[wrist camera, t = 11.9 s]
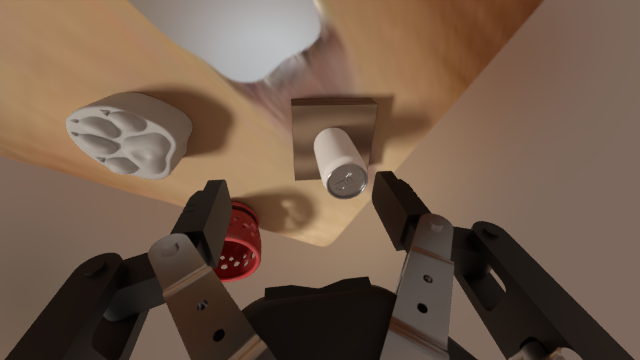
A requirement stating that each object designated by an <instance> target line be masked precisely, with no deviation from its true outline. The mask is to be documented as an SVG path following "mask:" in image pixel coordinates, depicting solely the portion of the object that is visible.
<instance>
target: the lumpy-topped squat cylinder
mask: <svg viewBox="0 0 640 360" xmlns="http://www.w3.org/2000/svg"><path fill="white" fill-rule="evenodd" d="M66 128H67V131H68V133H69V135H70V136H71V138H72V139H73V141H74V142H75V143H76V144H77V145H78V146H79V148H80V149H82V150H83V151H84V152H85V153H86V154H88V155H89V156H90V157H92V158H93V159H95V160H96V161H98V162H99V163H101V164H103V165H104V166H107V167H108V168H109V169H110V170H111V171H113V172H115V173H118V174H124V175H125V174H130V175H134V176H138V177H142V178H147V179H153V180H157V179H162V178H165V177H167V176H168V175H170V173H171V172H172V171H173V170H174V168H175V167H176V166H177V164H178V163H179V162H180V160H181V159H182V158H183V157H184V155H185V154H186V152H187V142H188V139H189V137H190V135H191V133H192V129H193V125H192V122H191V120H190V119H189V118H188V116H187V115H186V114H185V113H183V112H182V111H181V110H179V109H177V108H175V107H173V106H171V105H169V104H167V103H165V102H163V101H161V100H158V99H156V98H153V97H151V96H148V95H145V94H141V93H136V92H127V93H117V94H113V95H111V96H108V97H106V98H103V99H101V100H99V101H96V102H94V103H91V104H89V105H86V106H84V107H82V108H79V109H77V110H76V111H74V112H73V113H71V114H70V115H69V116H68V117H67V119H66Z"/></svg>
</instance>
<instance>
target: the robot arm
mask: <svg viewBox="0 0 640 360" xmlns="http://www.w3.org/2000/svg"><path fill="white" fill-rule="evenodd" d="M372 202H373V205H374V207H375V209H376V211H377V213H378V215H379V217H380V219H381V221H382V223H383V225H384V227H385V229H386V231H387V233H388V235H389V237H390V239H391V241H392V243H393V245H394V247H395V248H396V250H397V251H400V250H405V251H406V253H407V255H406V258H405V261H404V264H403V267H402V271H401V274H400V277H399V281H398V284H397V287H396V290H395V293H393V292H391V291H389V290H387V289H385V288H382V287H380V286H376V285H371V283H370V280H369V277H359V278H350V279H343V280H340V281H338V282H335V283H333V284H330V285H328V286H325V287H323V288H310V287H302V286H295V285H288V286H279V287H270V288H265V297H263V298H260V299H258V300H256V301H254V302H252V303H251V304H249V305H248V306H247V307H245V308H244V309H243V310H242V311H241V310H240V309H239V308H238V306H237V304H236V303H235V302H234V300H233V298H232V297H231V295H230V294H229V292H227V290H226V288H225V287H224V285H223V284H222V282H221V281H220V279H219V278H218V276H217V275H216V273H215V272H214V270H213V269H212V268H217V266H218V263H219V259H220V255H221V252H222V248H223V244H224V241H225V237H226V233H227V230H228V226H229V222H230V219H231V215H232V203H231V199H230V195H229V191H228V187H227V183H226V181H225V180H209V181H208V182H207V184H206V186H205V188H204V190H203V191H197V192H196V193H195V194H194V195H192V196H191V197H190V198H189V200H188V202H187V204H186V206H185V208H184V210H183V213H181V215H180V217H179V219H178V221H177V223H176V225H175V226H174V228H173V230H172V232H171V234H170V235H168V236H165V237H163V238H161V239H160V240H158V241H157V242H155V243H154V244H153V245H152V246H151V248H150V249H149V251H148V252H147V253H144V254H141V255H138V256H135V257H132V258H128V259H125V260H123V259H122V258H121V256H120V255H119V254H116V253H104V254H101V255H98V256H95V257H93V258H91V259H89V260H87V261H86V262H84V263H82V264H81V265H80V266H79V267H78V268H76V269H75V270H74V272H73V273H72V274H71V275H70V277H69V278H68V279H67V280H66V282H65V283H64V284H63V286H62V287H61V288H60V289H59V291H58V292H57V293H56V295H55V296H54V297H53V298H52V300H51V301H50V302H49V304H48V305H47V306H46V308H45V309H44V310H43V311H42V312H41V314H40V315H39V316H38V318H37V319H36V320H35V321H34V323H33V324H32V325H31V327H30V328H29V329H28V330H27V332H26V333H25V334H24V336H23V337H22V338H21V339H20V341H19V342H18V343H17V345H16V346H15V347H14V348H13V350H12V351H11V352H10V353H9V355H8V356H7V357H6V359H5V360H129V358H130V356H131V353H132V351H133V348H134V346H135V344H136V341H137V339H138V336H139V333H140V331H141V329H142V326H143V324H144V322H145V319H146V317H147V314H148V312H149V309H151V308H154V307H156V306H159V305H162V304H164V303H166V304H167V306H168V309H169V311H170V313H171V315H172V318H173V320H174V323H175V325H176V327H177V329H178V332H179V334H180V336H181V339H182V341H183V343H184V346H185V348H186V350H187V352H188V355H189V357H190V359H191V360H477V359H476V358H475V357H474V356H472V355H471V354H470V353H469V352H467V351H466V350H465V349H464V348H463V347H461V346H460V345H459V344H458V343H456V342H455V341H454V340H453V339H451V338H450V337H449V336H448V333H449V321H450V310H451V298H452V287H453V276H455V277H456V279H457V281H458V282H459V284H460V285H461V287H462V289H463V290H464V292H465V293H466V295H467V297H468V298H469V300H470V302H471V303H472V305H473V306H474V308H475V310H476V311H477V313H478V314H479V316H480V318H481V319H482V321H483V323H484V324H485V326H486V327H487V329H488V331H489V332H490V334H491V336H492V337H493V339H494V340H495V342H496V344H497V345H498V347H499V348H500V350H501V352H502V353H503V355H504V356H505V358H506V360H634V359H633V358H632V357H631V356H630V355H629V354H628V353H627V352H626V351H625V350H624V349H623V348H622V347H621V346H620V345H619V344H618V343H617V342H616V341H615V340H614V339H613V338H612V337H611V336H610V335H609V334H608V333H607V332H606V331H605V330H604V329H603V328H602V327H601V326H600V325H599V324H598V323H597V322H596V321H595V320H594V319H593V318H592V317H591V316H590V315H589V314H588V313H587V312H586V311H585V310H584V309H583V308H582V307H581V306H580V305H579V304H578V303H577V302H576V301H575V300H574V299H573V298H572V297H571V296H570V295H569V294H568V293H567V292H566V291H565V290H564V289H563V288H562V287H561V286H560V285H559V284H558V283H557V282H556V281H555V280H554V279H553V278H552V277H551V276H550V275H549V274H548V273H547V272H546V271H545V270H544V269H543V268H542V267H541V266H540V265H539V264H538V263H537V262H536V261H535V260H534V259H533V258H532V257H531V256H530V255H529V254H528V253H527V252H526V251H525V250H524V249H523V248H522V247H521V246H520V245H519V244H518V243H517V242H516V241H515V240H514V239H513V238H512V237H511V236H510V235H509V234H508V233H507V232H506V231H505V230H504V229H502V228H500V227H499V226H497V225H495V224H492V223H489V222H484V221H479V222H476V223H474V224H473V226H472V228H471V229H466V228H460V227H454V226H452V224H451V223H450V222H449V221H448V220H447V219H445V218H444V217H442V216H440V215H437V214H432V213H431V212H430V211H429V210H428V208H427V207H426V206H425V204H424V203H423V202H422V201H421V199H420V198H419V197H417V194H416V193H415V192H413V189H412V188H411V187H410V186H409V184H407V183H406V182H404V181H403V180H401V179H397V178H396V176H395V175H394V174H393V172H392V171H379V172H377V173H376V175H375V181H374V186H373V191H372ZM491 269H493V270H494V272H495V273H496V274H497V275H498V276H499V278H500V279H501V280H502V282H503V283H504V285H505V288H506V293H505V291H504V290H503V289H502V288H501V286H500V285H499V284H498V282H497V281H496V280H495V278H494V277H493V276H492V275H491V273H490V271H491Z"/></svg>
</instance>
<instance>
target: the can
mask: <svg viewBox="0 0 640 360" xmlns="http://www.w3.org/2000/svg"><path fill="white" fill-rule="evenodd" d="M314 151H315V156H316V160H317V164H318V168H319V171H320V175H321V179H322V182H323V185H324V187H325V188H326V189H327V190H328V192H329V193H330V194H331V195H332V196H334V197H335V198H338V199H350V198H353V197H356V196H357V195H359V194H360V193H361V192H362V191H363V190H364V189H365V188H366V186H367V183H368V175H367V167H366V165H365V163H364V161H363V159H362V158H361V156H360V154H359V152H358V151H357V149H356V147H355V146H354V144H353V142H352V141H351V139H350V137H349V136H348V134H347V133H346V132H345V131H343V130H342V129H339V128H328V129H325V130H323V131H322V132H320V133H319V134H318V136H317V137H316V139H315V141H314Z"/></svg>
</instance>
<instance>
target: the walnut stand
mask: <svg viewBox="0 0 640 360" xmlns="http://www.w3.org/2000/svg"><path fill="white" fill-rule="evenodd" d="M377 108H378V104H377V103H376V102H374V101H373V100H372V99H371V98H340V99H291V112H292V132H293V153H294V172H295V181H296V180H313V179H321V175H320V171H319V168H318V164H317V160H316V156H315V151H314V141H315V139H316V137H317V136H318V134H319V133H320V132H322V131H323V130H325V129H328V128H339V129H342V130H343V131H345V132H346V133H347V134H348V136H349V137H350V139H351V141H352V142H353V144H354V146H355V147H356V149H357V151H358V152H359V154H360V156H361V158H362V159H363V161H364V163H365V165H366V167H367V170H368V164H369V158H370V151H371V145H372V139H373V133H374V126H375V120H376V114H377Z"/></svg>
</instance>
